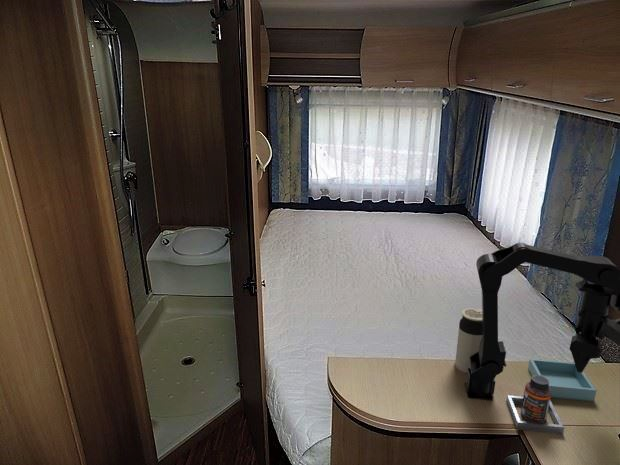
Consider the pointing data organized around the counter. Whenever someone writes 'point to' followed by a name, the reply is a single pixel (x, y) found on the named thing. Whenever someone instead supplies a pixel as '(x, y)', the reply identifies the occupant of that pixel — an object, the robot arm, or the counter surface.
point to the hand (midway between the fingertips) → (581, 363)
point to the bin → (563, 379)
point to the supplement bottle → (536, 399)
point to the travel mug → (468, 337)
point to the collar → (534, 426)
